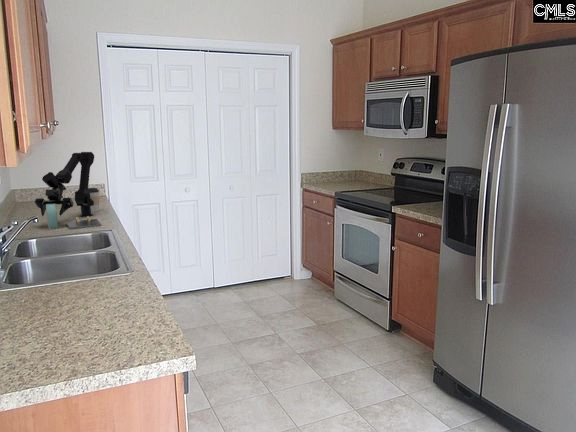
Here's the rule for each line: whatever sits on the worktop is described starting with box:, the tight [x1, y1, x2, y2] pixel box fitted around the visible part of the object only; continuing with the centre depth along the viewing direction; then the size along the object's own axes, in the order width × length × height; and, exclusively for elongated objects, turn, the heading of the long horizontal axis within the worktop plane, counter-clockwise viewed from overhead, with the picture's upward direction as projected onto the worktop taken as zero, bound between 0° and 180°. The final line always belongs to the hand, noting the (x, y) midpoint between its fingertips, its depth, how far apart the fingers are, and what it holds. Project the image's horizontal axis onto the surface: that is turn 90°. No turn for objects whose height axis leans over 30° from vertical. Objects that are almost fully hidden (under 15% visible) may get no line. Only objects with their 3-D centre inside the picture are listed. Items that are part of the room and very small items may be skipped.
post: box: [45, 203, 60, 230], centre depth 255 cm, size 5×5×13 cm
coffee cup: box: [88, 187, 100, 213], centre depth 302 cm, size 9×9×15 cm
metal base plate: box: [66, 216, 102, 230], centre depth 261 cm, size 16×16×4 cm
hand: (51, 215), depth 254 cm, fingers open, 9 cm apart
